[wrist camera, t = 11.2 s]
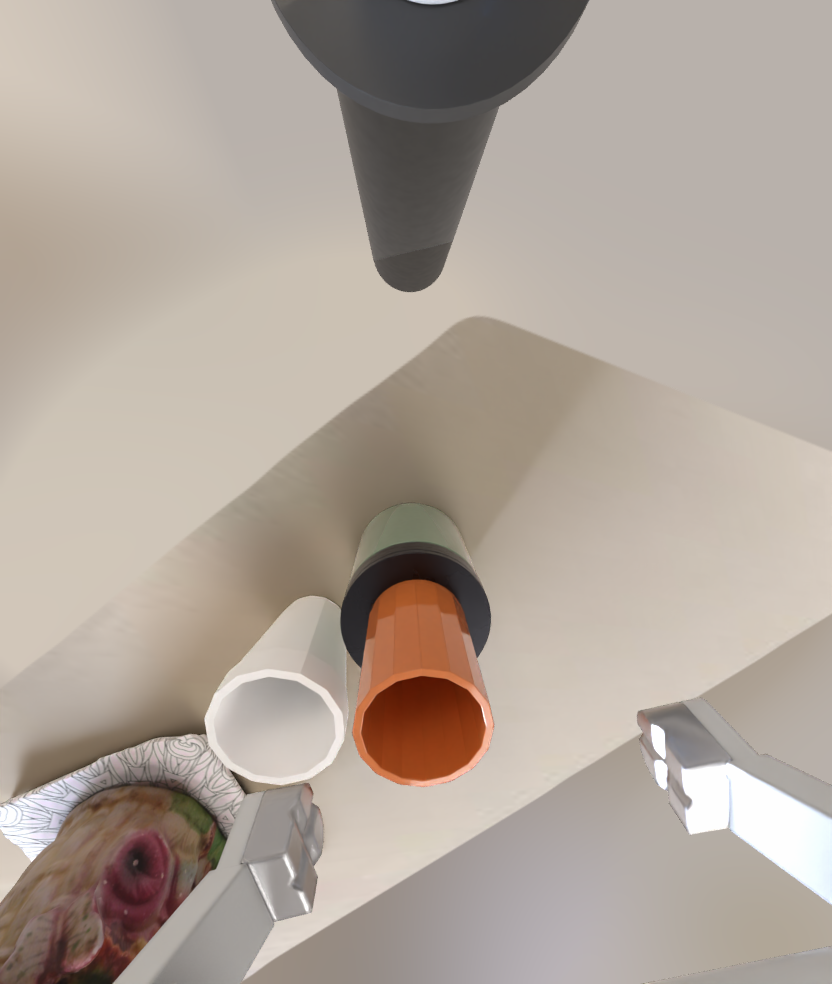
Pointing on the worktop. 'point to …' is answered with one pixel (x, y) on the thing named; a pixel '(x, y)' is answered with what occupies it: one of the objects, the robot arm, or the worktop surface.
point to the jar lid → (412, 565)
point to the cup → (420, 689)
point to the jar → (410, 531)
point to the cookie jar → (111, 858)
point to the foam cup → (285, 698)
